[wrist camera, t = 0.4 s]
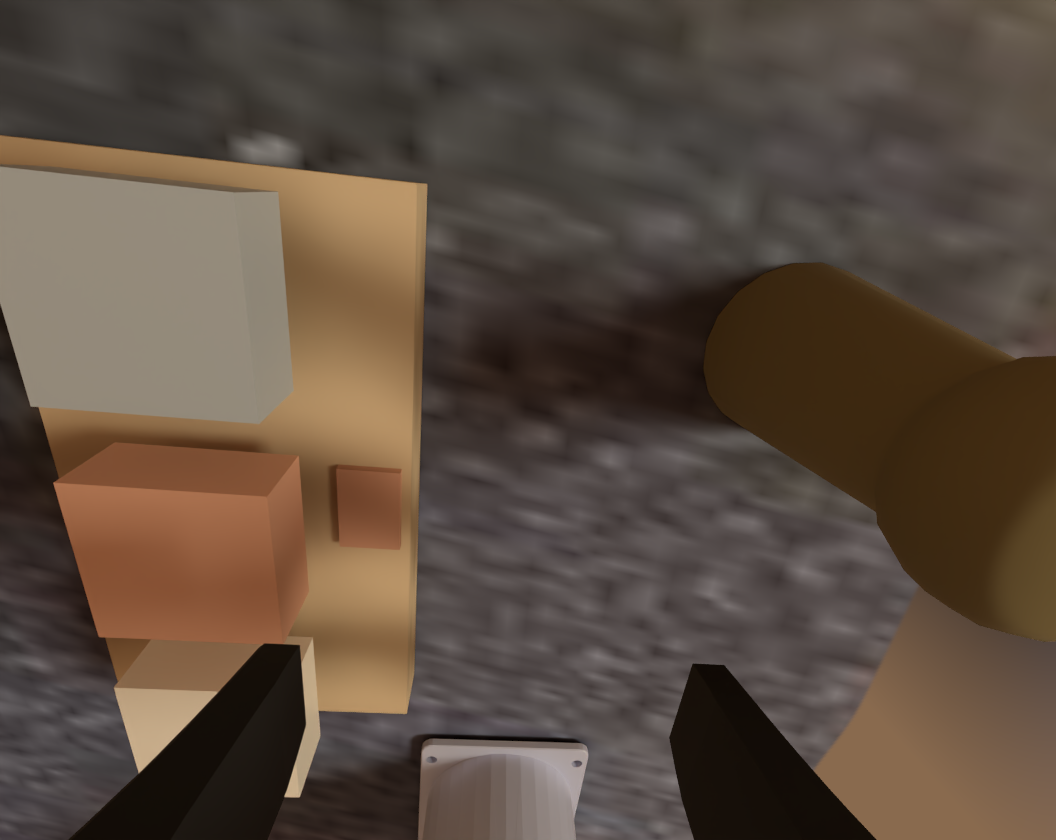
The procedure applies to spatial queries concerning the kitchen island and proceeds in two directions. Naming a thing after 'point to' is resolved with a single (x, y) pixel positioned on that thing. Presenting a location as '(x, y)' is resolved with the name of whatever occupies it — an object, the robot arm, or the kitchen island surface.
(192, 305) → the button slate
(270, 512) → the button terracotta
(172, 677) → the button cream
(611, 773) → the kitchen island surface
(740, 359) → the butternut squash
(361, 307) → the button board
